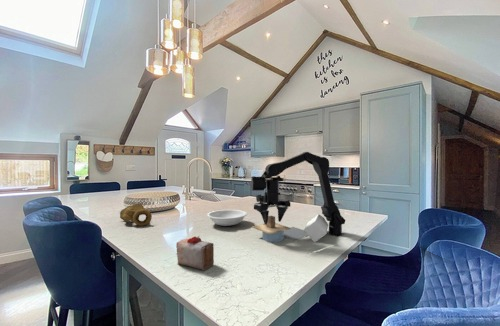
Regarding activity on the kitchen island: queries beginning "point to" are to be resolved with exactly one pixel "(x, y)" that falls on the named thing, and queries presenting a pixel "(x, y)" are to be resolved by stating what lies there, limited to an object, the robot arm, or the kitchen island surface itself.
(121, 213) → the brown looped sculpture
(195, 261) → the food item
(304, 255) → the kitchen island surface
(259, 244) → the kitchen island surface
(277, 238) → the ceramic bowl
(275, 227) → the oak lid
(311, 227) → the milk carton
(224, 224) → the soup bowl
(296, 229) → the rubber mat
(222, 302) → the kitchen island surface
